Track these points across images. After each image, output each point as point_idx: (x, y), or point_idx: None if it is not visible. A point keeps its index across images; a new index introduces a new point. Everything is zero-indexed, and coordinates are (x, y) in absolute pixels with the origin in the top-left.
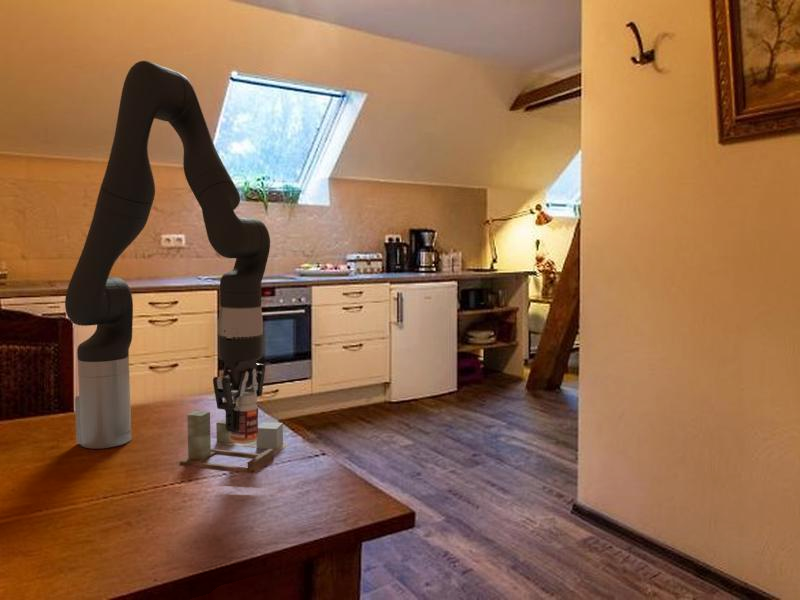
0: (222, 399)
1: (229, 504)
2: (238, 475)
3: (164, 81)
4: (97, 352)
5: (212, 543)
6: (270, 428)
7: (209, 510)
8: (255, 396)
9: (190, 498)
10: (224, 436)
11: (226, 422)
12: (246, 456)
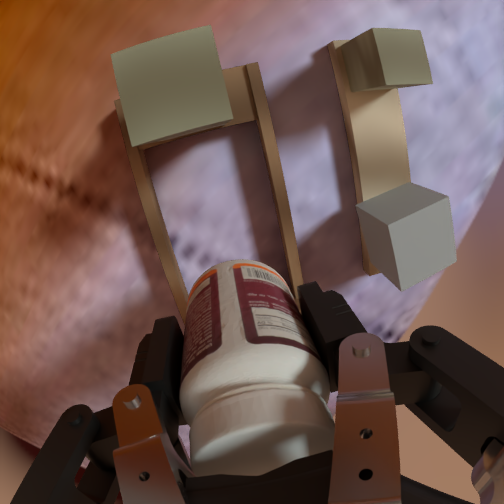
0: (85, 454)
1: (76, 367)
2: (185, 282)
3: None
4: None
5: (16, 409)
6: (399, 272)
7: (41, 354)
8: None
9: (36, 289)
10: (357, 71)
11: (138, 357)
12: (281, 231)
